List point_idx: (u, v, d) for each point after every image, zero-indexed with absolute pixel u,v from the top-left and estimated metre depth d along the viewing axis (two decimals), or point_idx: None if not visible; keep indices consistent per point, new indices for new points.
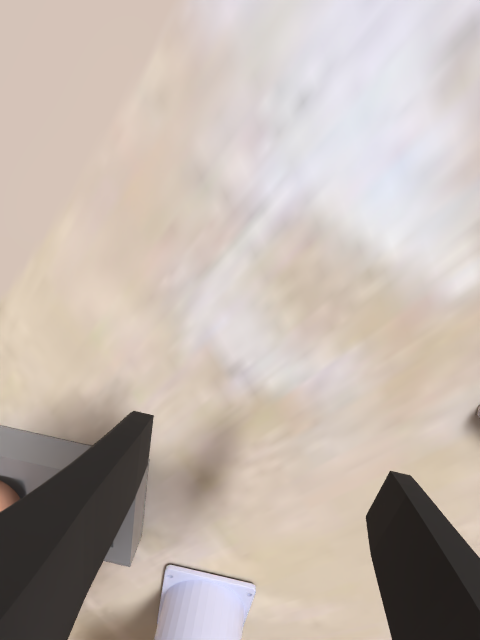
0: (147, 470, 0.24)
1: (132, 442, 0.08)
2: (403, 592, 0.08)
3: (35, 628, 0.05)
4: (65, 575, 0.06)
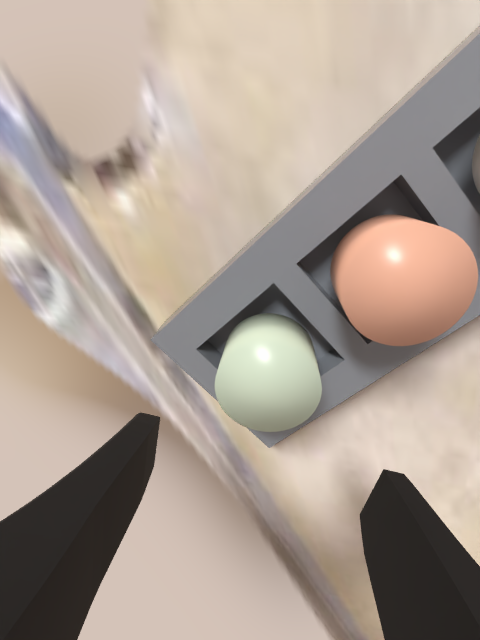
0: None
1: (140, 444, 0.08)
2: (394, 590, 0.08)
3: (47, 631, 0.05)
4: (75, 577, 0.06)
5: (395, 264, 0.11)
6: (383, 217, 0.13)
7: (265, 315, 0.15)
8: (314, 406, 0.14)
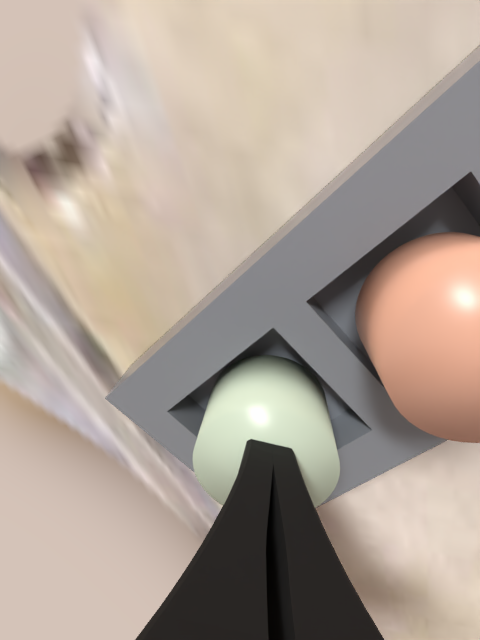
0: None
1: (271, 474, 0.08)
2: None
3: None
4: None
5: (476, 321, 0.07)
6: (442, 238, 0.08)
7: (262, 358, 0.12)
8: (329, 490, 0.10)
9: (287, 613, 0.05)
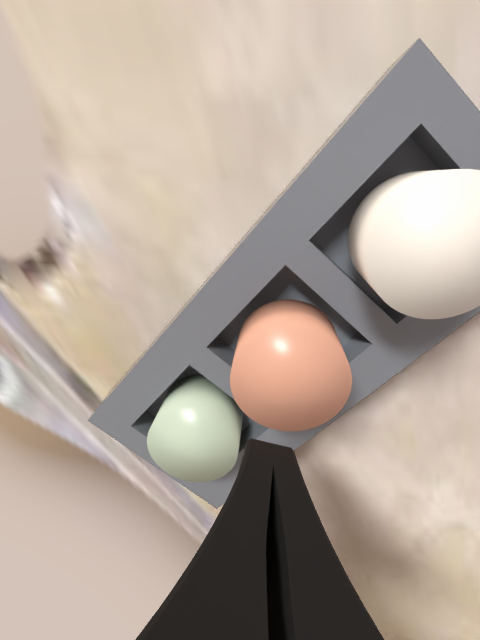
0: None
1: (271, 474, 0.08)
2: None
3: None
4: None
5: (272, 363, 0.12)
6: (272, 306, 0.13)
7: (193, 377, 0.17)
8: (234, 459, 0.16)
9: (287, 613, 0.05)
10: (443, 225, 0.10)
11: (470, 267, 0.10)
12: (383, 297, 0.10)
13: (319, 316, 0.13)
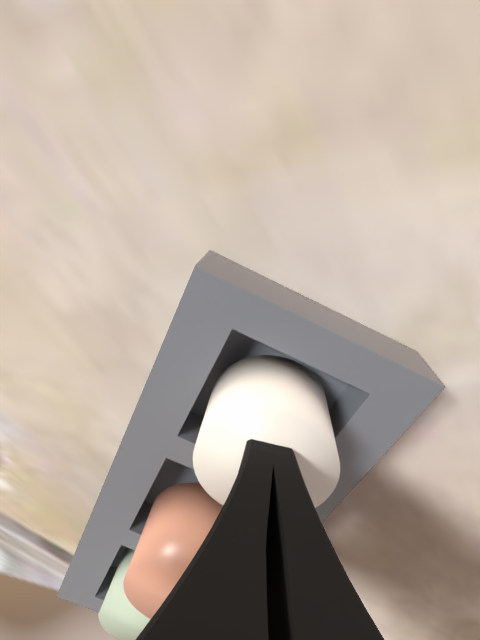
0: (231, 262, 0.12)
1: (271, 475, 0.08)
2: None
3: None
4: None
5: (157, 584, 0.12)
6: (164, 500, 0.14)
7: None
8: None
9: (287, 613, 0.05)
10: None
11: None
12: None
13: (206, 508, 0.13)
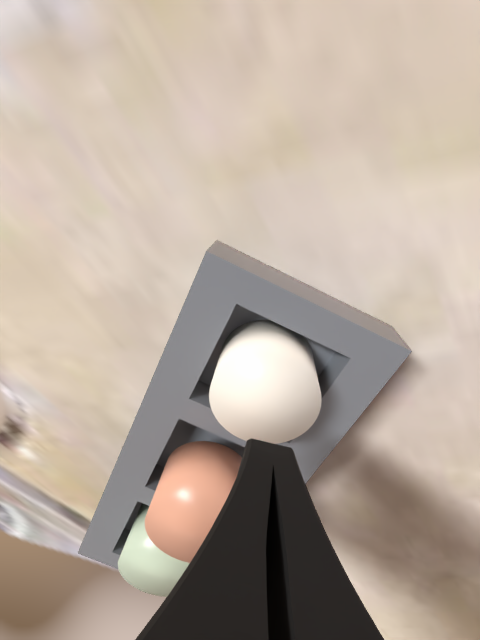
0: (235, 250, 0.15)
1: (271, 474, 0.08)
2: None
3: None
4: None
5: (174, 520, 0.14)
6: (177, 455, 0.16)
7: None
8: None
9: (287, 613, 0.05)
10: (255, 386, 0.13)
11: (287, 407, 0.13)
12: (238, 436, 0.14)
13: (214, 459, 0.15)
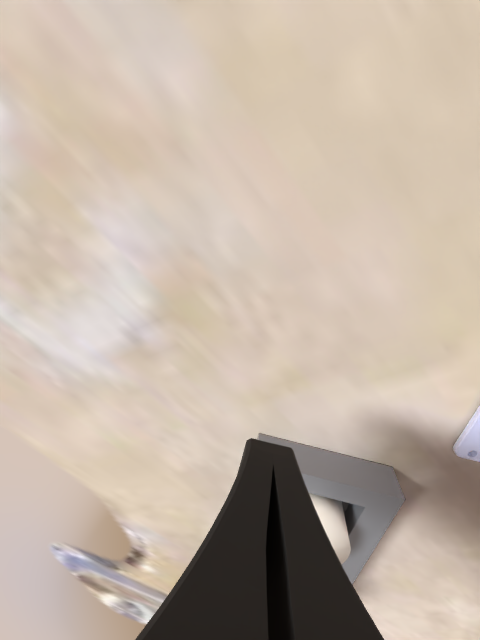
0: (272, 439, 0.22)
1: (271, 474, 0.08)
2: None
3: None
4: None
5: None
6: None
7: None
8: None
9: (287, 613, 0.05)
10: None
11: None
12: None
13: None
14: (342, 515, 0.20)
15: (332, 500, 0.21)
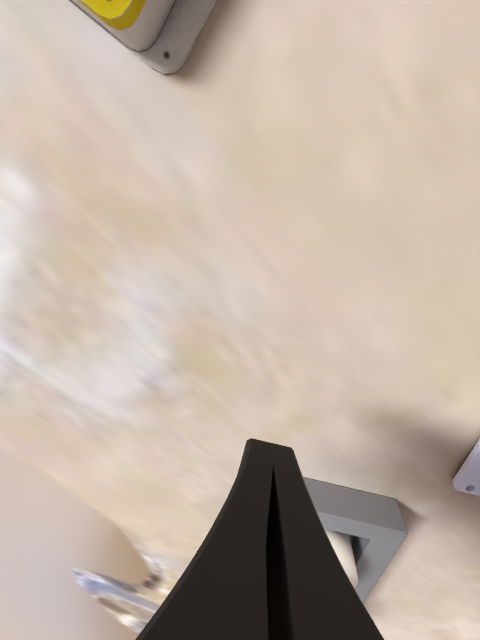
0: None
1: (271, 475, 0.08)
2: None
3: None
4: None
5: None
6: None
7: None
8: None
9: (287, 613, 0.05)
10: None
11: None
12: None
13: None
14: (349, 547, 0.22)
15: (340, 532, 0.22)
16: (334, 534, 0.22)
